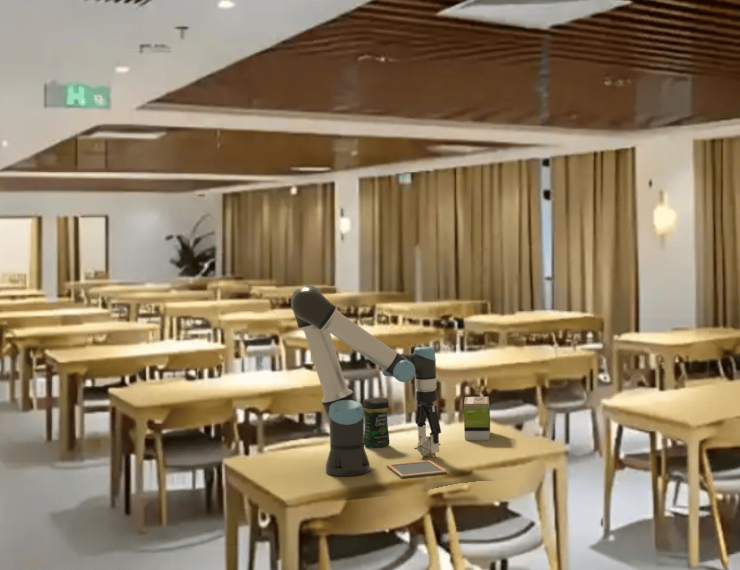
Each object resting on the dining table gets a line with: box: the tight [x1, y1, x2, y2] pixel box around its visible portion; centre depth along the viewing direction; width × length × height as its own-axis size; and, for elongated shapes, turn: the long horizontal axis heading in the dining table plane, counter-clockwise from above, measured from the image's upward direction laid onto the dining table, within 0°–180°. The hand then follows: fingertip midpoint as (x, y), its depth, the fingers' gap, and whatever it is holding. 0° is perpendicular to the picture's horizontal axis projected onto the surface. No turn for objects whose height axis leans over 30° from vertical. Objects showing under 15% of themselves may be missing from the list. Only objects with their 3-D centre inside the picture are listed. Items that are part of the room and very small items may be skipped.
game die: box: [414, 435, 442, 459], centre depth 330 cm, size 9×8×10 cm
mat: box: [386, 460, 447, 479], centre depth 312 cm, size 16×16×1 cm
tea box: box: [463, 396, 491, 441], centre depth 363 cm, size 15×10×15 cm, turn 172°
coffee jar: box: [362, 397, 390, 449], centre depth 350 cm, size 10×8×19 cm
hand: (428, 448), depth 331 cm, fingers open, 13 cm apart
